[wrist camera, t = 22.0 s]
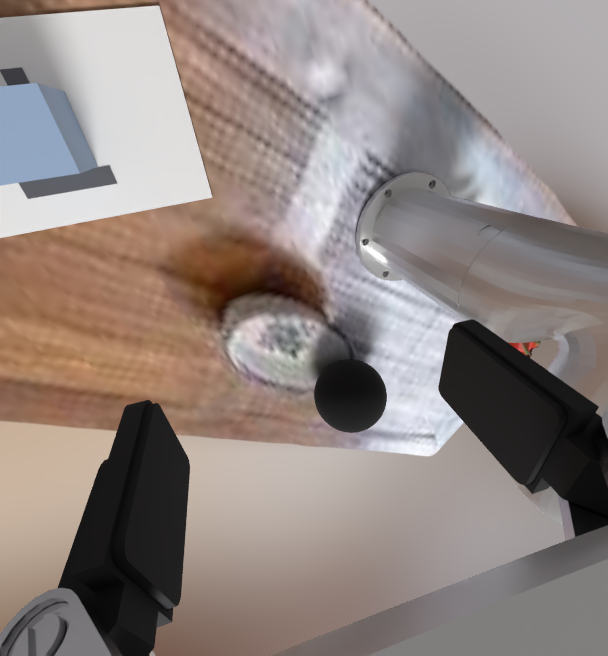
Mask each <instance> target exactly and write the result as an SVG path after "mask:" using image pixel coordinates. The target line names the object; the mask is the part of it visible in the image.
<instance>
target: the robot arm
mask: <svg viewBox="0 0 608 656" xmlns="http://www.w3.org/2000/svg"><path fill="white" fill-rule="evenodd" d="M385 192H386V193H385ZM363 239H364V240H363ZM356 246H357V252H358V255H359V258H360V260H361V262H362V263H363V265H364V266H365V268H366V269H367V270H369V271H370V272H371V273H372V274H374V275H375V276H376V277H378V278H381V279H383V280H390V281H396V280H405V281H406V282H407V283H409V284H410V285H412V286H413V287H415V288H416V289H417V290H419V291H420V292H422V293H423V294H425V295H426V296H427V297H429V298H430V299H432V300H433V301H435V302H436V303H437V304H439V305H440V306H442V307H443V308H445V309H446V310H448V311H449V312H450V313H452V314H453V315H455V316H456V317H458V318H459V319H460V320H462V322H458V323H455V324H454V325H453V327H452V329H450V331H449V334H448V339H447V345H446V350H445V355H444V361H443V366H442V372H441V377H440V382H439V392H440V394H441V396H442V397H443V399H444V400H445V401H446V402H447V403H448V404H449V405H450V407H451V408H452V409H453V410H454V411H455V412H456V413H457V415H458V416H459V417H460V418H461V419H462V420H463V421H464V423H465V424H466V425H467V426H468V427H469V428H470V429H471V431H472V432H473V433H474V434H475V435H476V436H477V437H478V439H479V440H480V441H481V442H482V443H483V444H484V445H485V447H486V448H487V449H488V450H489V451H490V452H491V453H492V454H493V456H494V457H495V458H496V459H497V460H498V461H499V462H500V464H501V465H502V466H503V467H504V468H505V469H506V470H507V472H508V473H509V474H510V476H511V478H512V479H513V481H514V482H515V484H516V485H517V487H518V488H519V489H520V491H521V492H522V493H523V494H524V495H525V496H526V497H527V498H528V500H529V501H530V502H531V503H533V504H534V505H535V506H536V507H537V508H539V510H540V511H542V512H543V513H544V514H545V515H547V516H548V517H549V518H551V519H552V520H553V521H555V522H556V523H558V524H559V525H560V526H562V527H563V529H564V534H565V540H566V541H564V542H562V543H559V544H556V545H554V546H551V547H549V548H546V549H543V550H541V551H538V552H535V553H533V554H530V555H527V556H525V557H522V558H520V559H517V560H515V561H512V562H509V563H507V564H504V565H501V566H499V567H496V568H493V569H491V570H488V571H486V572H483V573H481V574H478V575H475V576H473V577H471V578H468V579H465V580H463V581H460V582H457V583H455V584H452V585H450V586H447V587H444V588H442V589H439V590H437V591H434V592H432V593H429V594H426V595H424V596H421V597H419V598H416V599H413V600H411V601H409V602H406V603H403V604H401V605H398V606H395V607H393V608H390V609H388V610H385V611H383V612H380V613H377V614H375V615H372V616H370V617H367V618H365V619H362V620H360V621H357V622H354V623H352V624H349V625H347V626H345V627H342V628H339V629H337V630H334V631H332V632H329V633H327V634H324V635H322V636H319V637H316V638H314V639H311V640H309V641H306V642H304V643H301V644H299V645H296V646H294V647H291V648H288V649H286V650H283V651H281V652H278V653H276V654H273V655H271V656H608V233H606V232H601V231H596V230H592V229H587V228H582V227H577V226H573V225H568V224H564V223H560V222H556V221H552V220H548V219H543V218H538V217H534V216H530V215H526V214H522V213H518V212H513V211H509V210H505V209H501V208H497V207H493V206H489V205H485V204H481V203H477V202H473V201H469V200H465V199H461V198H456V197H452V196H450V193H449V190H448V189H447V187H446V186H445V184H444V183H443V182H442V181H440V180H439V179H438V178H436V177H434V176H432V175H430V174H426V173H421V172H410V173H405V174H401V175H399V176H396V177H394V178H392V179H390V180H389V181H387V182H386V183H385V184H383V185H382V186H381V187H380V188H379V189H378V190H377V191H376V192H375V193H374V194H373V195H372V197H371V198H370V199H369V201H368V202H367V204H366V206H365V208H364V209H363V211H362V214H361V216H360V219H359V222H358V227H357V232H356ZM551 339H555V340H557V341H558V343H559V349H558V352H557V354H556V356H555V358H554V359H553V361H552V363H551V364H550V366H549V368H548V370H546V369H545V368H543V367H542V366H540V365H539V364H537V363H536V362H534V361H533V360H532V359H530V358H529V357H528V356H526V355H525V354H523V353H522V352H520V351H519V350H518V349H516V348H515V347H513V346H512V345H510V344H509V343H508V342H510V343H526V342H537V341H544V340H551ZM189 474H190V464H189V459H188V457H187V455H186V453H185V451H184V449H183V448H182V446H181V444H180V442H179V440H178V438H177V436H176V435H175V433H174V431H173V429H172V427H171V425H170V424H169V422H168V420H167V418H166V416H165V414H164V413H163V411H162V409H161V407H160V405H159V404H158V403H155V404H152V402H151V401H150V400H146V401H142V402H138V403H134V404H130V405H127V406H126V407H125V409H124V412H123V415H122V418H121V421H120V424H119V427H118V430H117V433H116V437H115V439H114V443H113V446H112V449H111V452H110V455H109V458H108V459H107V460H105V461H104V462H103V463H102V464H101V466H100V468H99V470H98V473H97V476H96V478H95V481H94V485H93V487H92V490H91V493H90V496H89V499H88V502H87V505H86V508H85V511H84V513H83V516H82V519H81V522H80V525H79V528H78V531H77V534H76V536H75V539H74V542H73V545H72V548H71V551H70V554H69V557H68V560H67V563H66V565H65V568H64V571H63V574H62V577H61V580H60V583H59V586H58V588H57V589H53V590H49V591H47V592H45V593H43V594H41V595H40V596H38V597H36V598H35V599H33V600H32V601H31V602H29V603H28V604H27V605H26V606H24V608H22V609H21V610H20V611H19V612H18V613H17V614H16V615H15V616H14V618H13V619H12V620H11V621H10V622H9V623H8V624H7V626H6V627H5V628H4V630H3V632H2V633H1V634H0V656H155V654H154V653H153V651H152V650H153V648H154V645H155V636H156V628H157V627H160V626H162V625H165V624H168V623H171V622H172V615H173V607H176V606H177V605H178V604H179V602H180V598H181V586H182V573H183V558H184V545H185V531H186V517H187V501H188V489H189Z"/></svg>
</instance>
